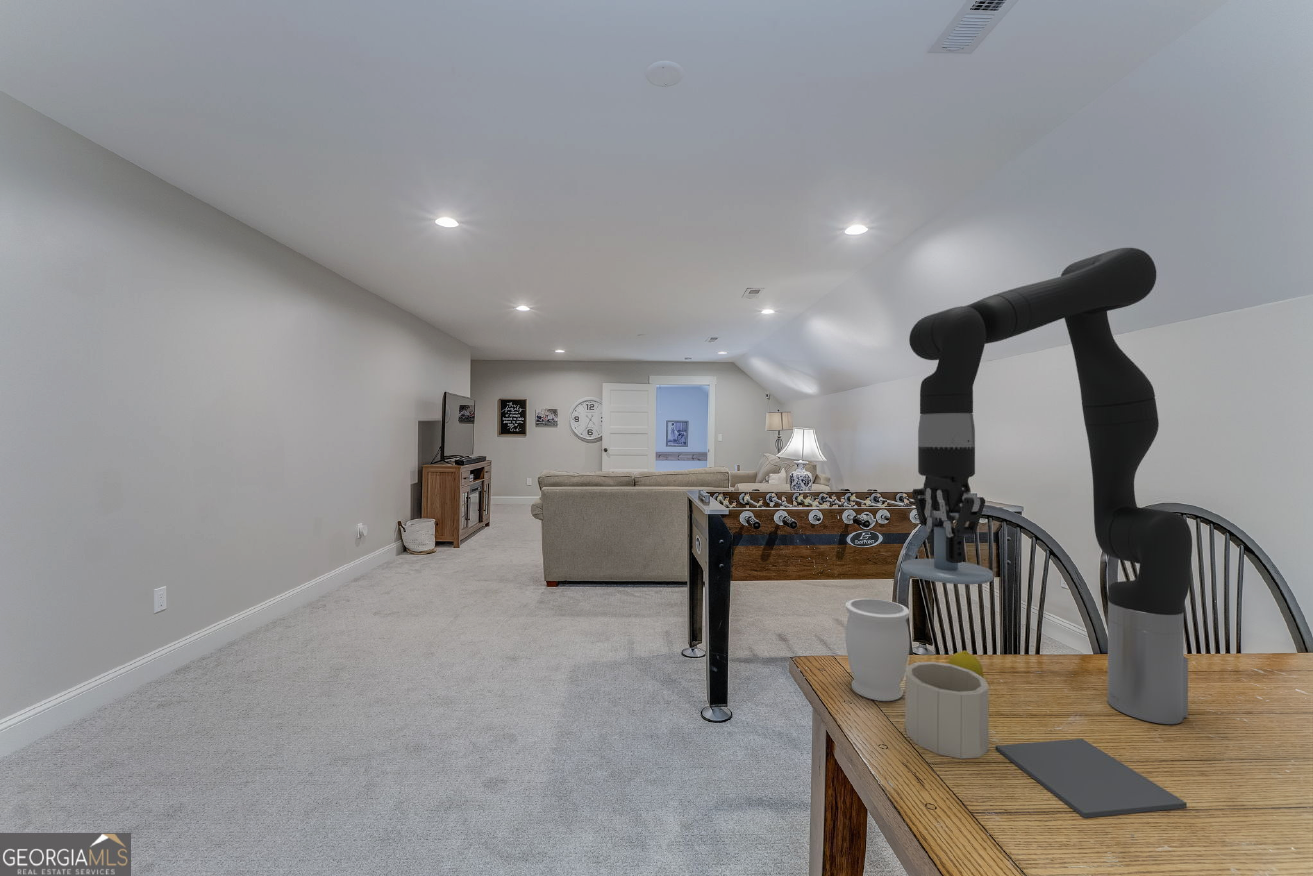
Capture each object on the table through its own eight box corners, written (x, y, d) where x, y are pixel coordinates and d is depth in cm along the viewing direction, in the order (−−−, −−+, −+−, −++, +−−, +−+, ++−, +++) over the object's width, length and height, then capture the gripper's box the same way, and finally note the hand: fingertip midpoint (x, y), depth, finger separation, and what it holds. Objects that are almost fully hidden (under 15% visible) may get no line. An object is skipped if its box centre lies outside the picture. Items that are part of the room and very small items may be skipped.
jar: (876, 710, 89) (876, 619, 89) (832, 684, 98) (832, 601, 98) (923, 698, 93) (923, 611, 93) (876, 673, 103) (876, 595, 103)
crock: (954, 715, 87) (954, 660, 87) (1005, 755, 77) (1005, 691, 76) (891, 720, 86) (891, 663, 86) (934, 761, 75) (935, 696, 75)
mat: (1082, 742, 80) (1082, 738, 80) (1186, 807, 66) (1186, 802, 66) (995, 749, 78) (995, 745, 78) (1084, 818, 64) (1084, 813, 64)
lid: (955, 562, 88) (955, 520, 88) (1013, 582, 76) (1013, 534, 76) (886, 565, 86) (886, 522, 86) (934, 586, 74) (934, 536, 74)
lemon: (989, 706, 90) (989, 658, 90) (952, 703, 91) (953, 656, 91) (976, 691, 96) (976, 645, 96) (942, 688, 97) (942, 643, 97)
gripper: (1004, 445, 74) (1004, 570, 75) (938, 443, 88) (938, 548, 89) (954, 445, 73) (954, 572, 74) (895, 443, 87) (895, 550, 88)
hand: (945, 558), depth 81 cm, fingers closed on lid, 3 cm apart
